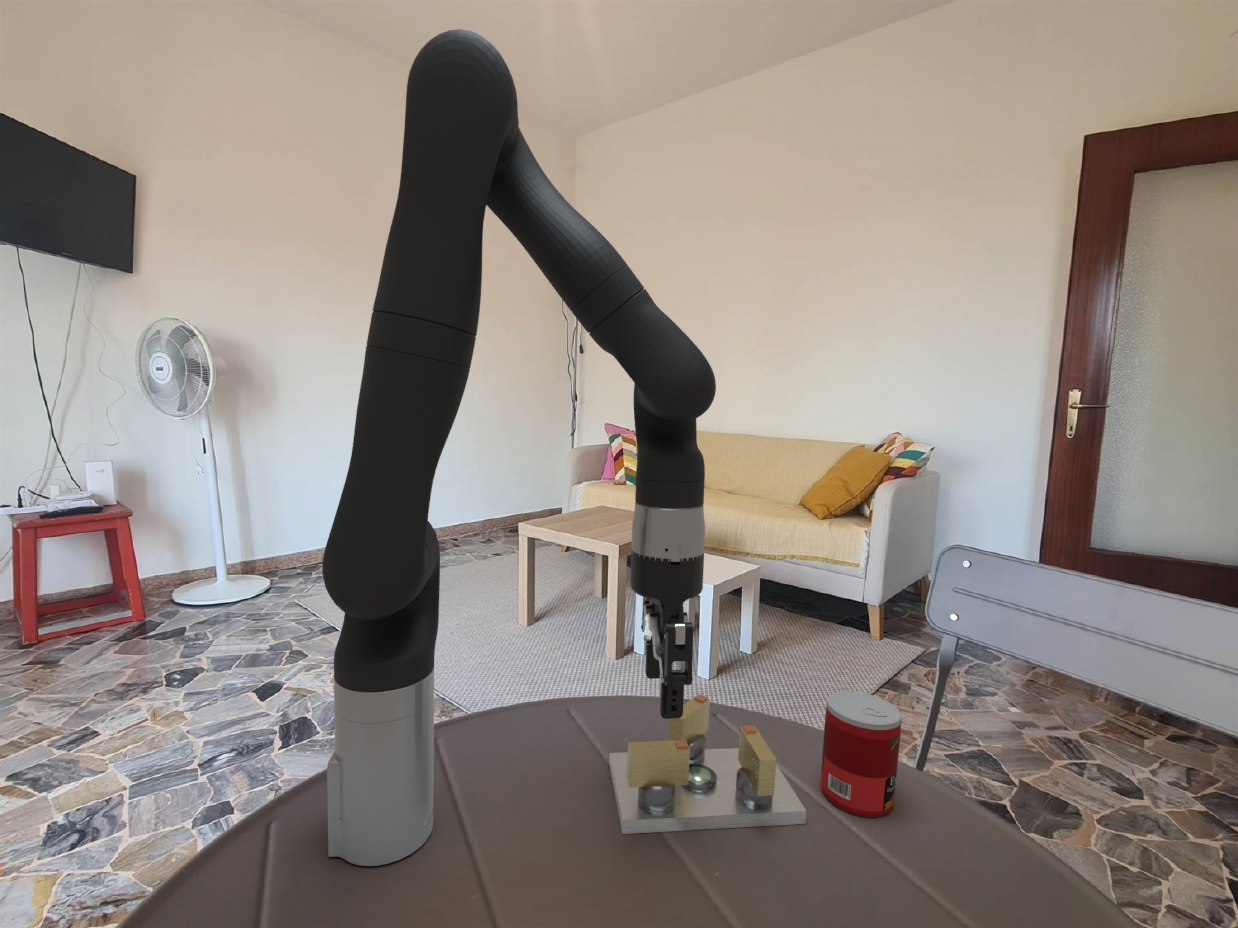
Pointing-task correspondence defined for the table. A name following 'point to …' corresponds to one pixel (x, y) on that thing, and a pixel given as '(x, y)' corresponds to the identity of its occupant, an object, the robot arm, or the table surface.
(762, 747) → the knob
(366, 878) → the table surface
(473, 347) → the robot arm
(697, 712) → the yellow paddle knob
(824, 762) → the canned food
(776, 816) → the level plate
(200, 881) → the table surface
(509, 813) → the table surface
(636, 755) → the knob
